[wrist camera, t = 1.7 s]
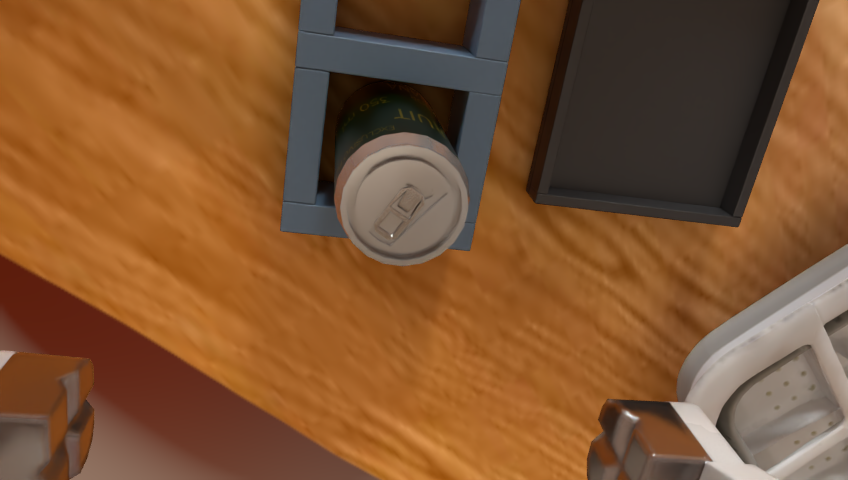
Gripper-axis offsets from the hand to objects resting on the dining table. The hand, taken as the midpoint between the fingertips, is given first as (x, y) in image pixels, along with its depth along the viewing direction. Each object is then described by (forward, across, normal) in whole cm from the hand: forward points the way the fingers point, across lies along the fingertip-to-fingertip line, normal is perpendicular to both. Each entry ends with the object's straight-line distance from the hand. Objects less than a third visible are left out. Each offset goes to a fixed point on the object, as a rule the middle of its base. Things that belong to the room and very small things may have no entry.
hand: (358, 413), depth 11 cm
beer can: (+28, -2, +2) cm, 28 cm away
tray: (+28, -17, -3) cm, 33 cm away
